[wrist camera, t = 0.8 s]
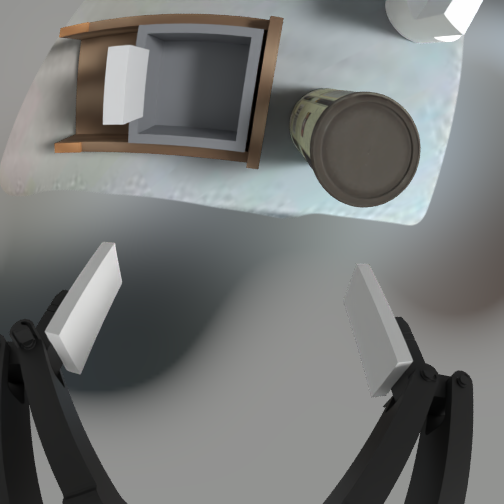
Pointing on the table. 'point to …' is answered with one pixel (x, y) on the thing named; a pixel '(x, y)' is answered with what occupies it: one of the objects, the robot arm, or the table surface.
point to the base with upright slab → (431, 18)
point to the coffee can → (356, 144)
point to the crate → (184, 85)
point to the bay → (125, 33)
